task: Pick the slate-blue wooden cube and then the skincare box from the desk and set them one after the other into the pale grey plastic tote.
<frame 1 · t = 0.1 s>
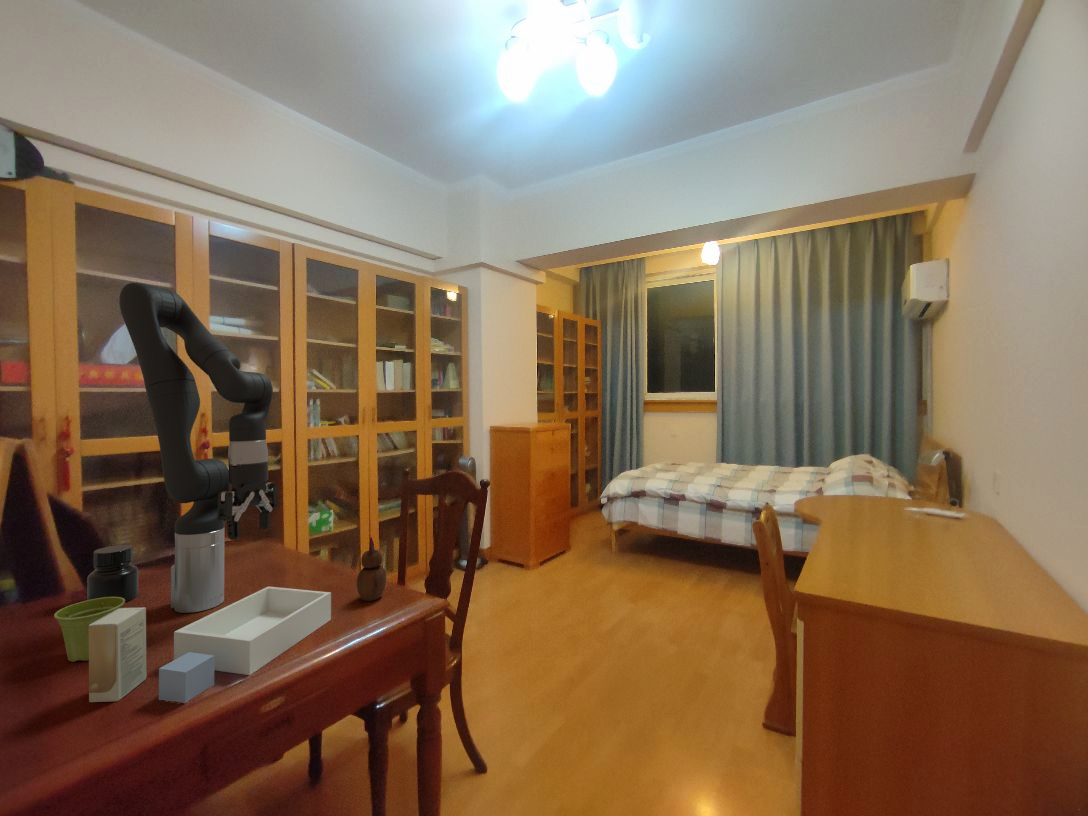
hand: (250, 533, 106), 17 cm above the table, tool pointing down, fingers open, 8 cm apart
skincare box: (118, 692, 76), on the table
cube: (187, 693, 76), on the table
tote: (260, 639, 93), on the table
ink bottle: (113, 601, 111), on the table
plant pot: (90, 655, 87), on the table
wooden figurine: (371, 599, 113), on the table
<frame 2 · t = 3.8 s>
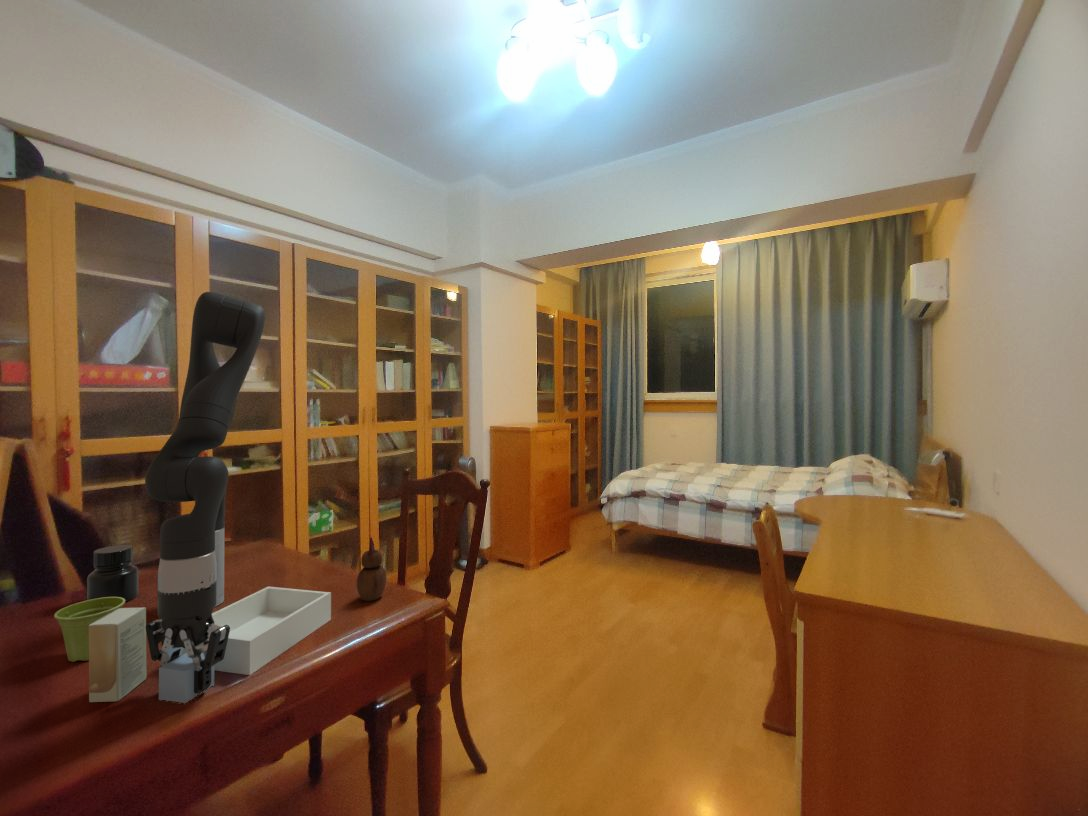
hand: (187, 688, 76), 1 cm above the table, tool pointing down, fingers closed on cube, 5 cm apart
cube: (187, 692, 76), on the table, touching gripper
everything else where it was.
when the fingers open (3 cm above the table, at t = 8.6 s): cube drops 2 cm, resting on tote.
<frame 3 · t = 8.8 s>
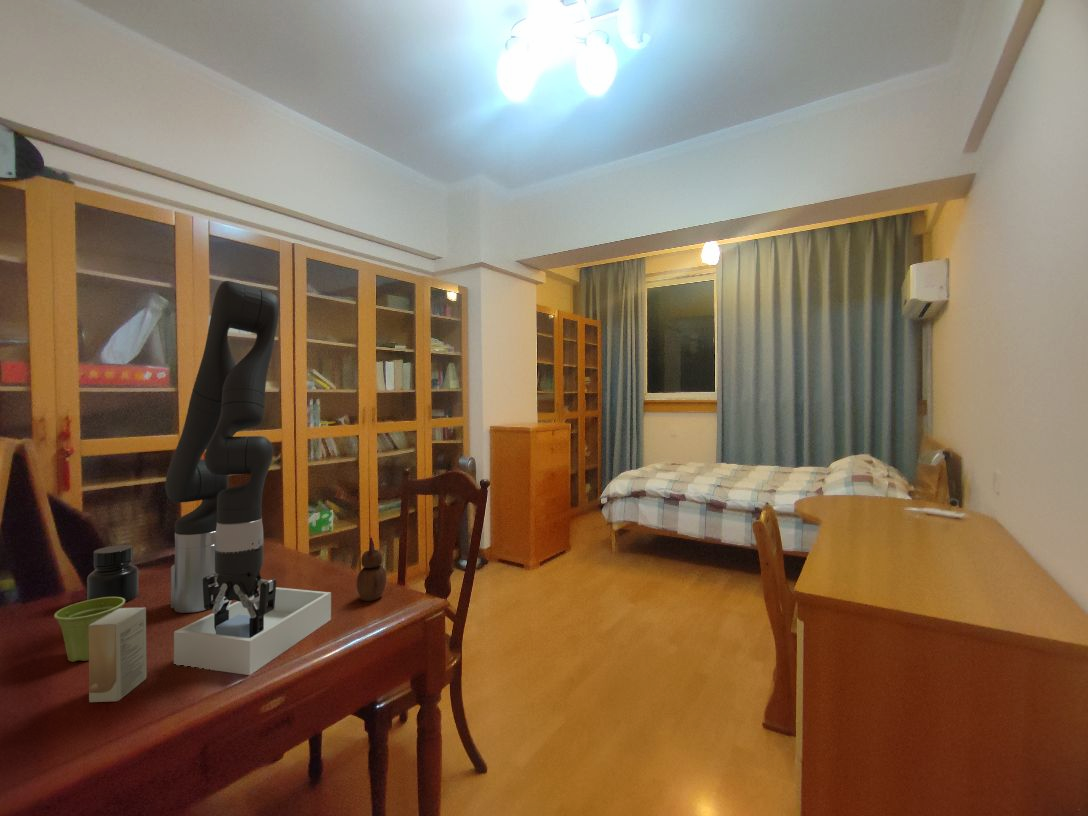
hand: (238, 633, 88), 4 cm above the table, tool pointing down, fingers open, 6 cm apart
cube: (238, 648, 88), point 1 cm above the table, touching tote
everything else where it was.
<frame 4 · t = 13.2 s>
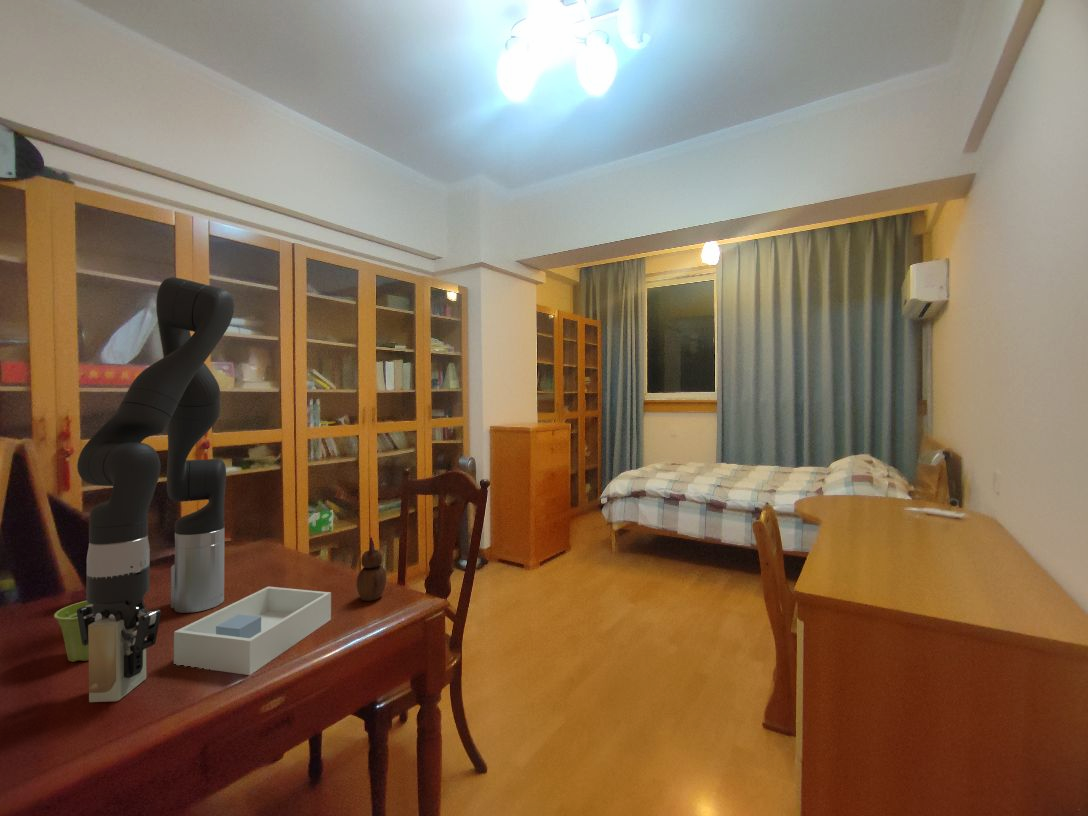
hand: (118, 672, 76), 3 cm above the table, tool pointing down, fingers closed on skincare box, 5 cm apart
skincare box: (118, 692, 76), on the table, touching gripper
everything else where it was.
when the fingers open (5 cm above the table, at t = 19.1 s): skincare box drops 2 cm, resting on tote.
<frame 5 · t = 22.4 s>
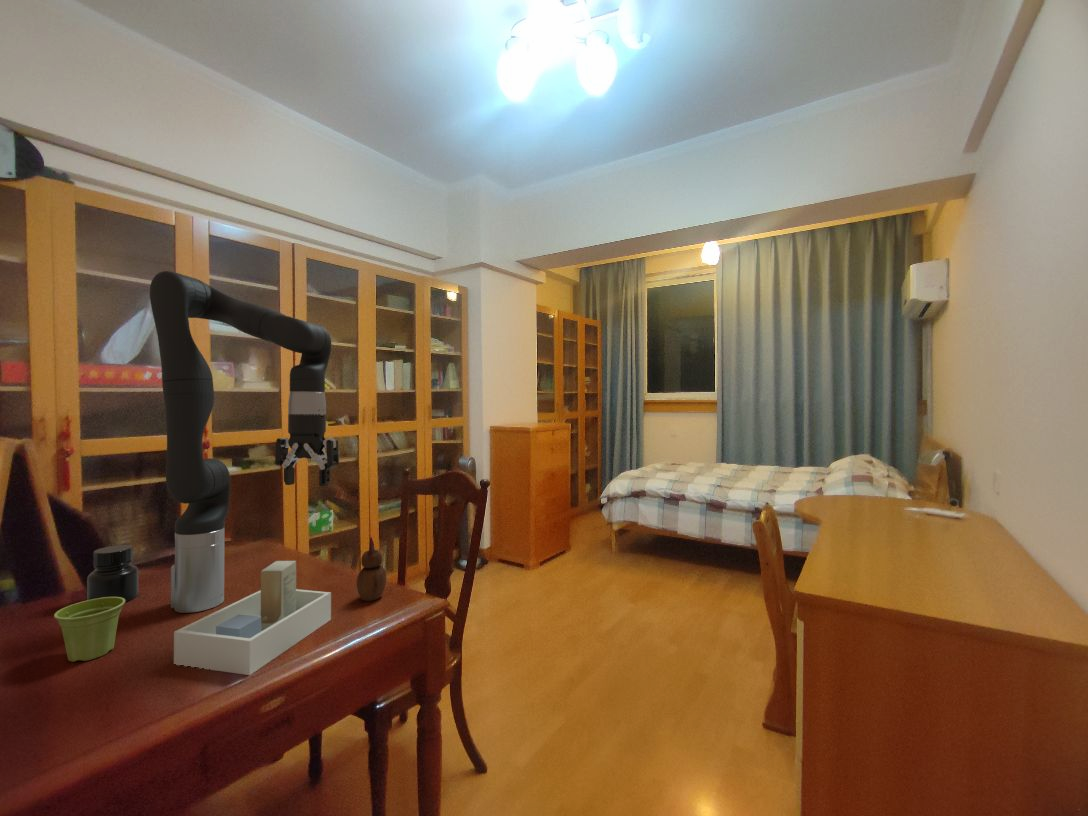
hand: (306, 485, 105), 28 cm above the table, tool pointing down, fingers open, 8 cm apart
skincare box: (278, 625, 98), point 1 cm above the table, touching tote
everything else where it was.
at the end: cube inside the target area on the tote (5.0 cm from its centre), point 0.8 cm above the tote's base; skincare box inside the target area on the tote (5.0 cm from its centre), point 0.6 cm above the tote's base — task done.
